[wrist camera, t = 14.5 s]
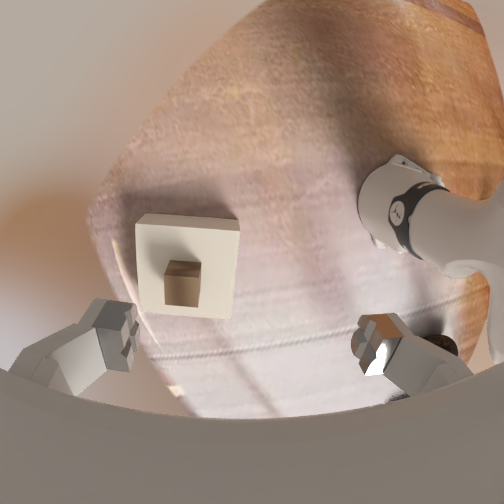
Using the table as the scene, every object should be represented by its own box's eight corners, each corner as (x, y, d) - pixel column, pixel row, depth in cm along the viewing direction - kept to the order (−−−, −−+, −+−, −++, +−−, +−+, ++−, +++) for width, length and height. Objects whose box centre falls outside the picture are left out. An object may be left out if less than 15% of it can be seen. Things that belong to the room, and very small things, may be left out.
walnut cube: (201, 262, 42) (199, 278, 37) (200, 290, 44) (198, 307, 39) (169, 259, 41) (163, 274, 37) (170, 287, 43) (164, 304, 39)
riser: (238, 219, 46) (240, 231, 41) (229, 300, 52) (230, 319, 47) (145, 213, 44) (135, 223, 39) (148, 293, 50) (140, 311, 45)
